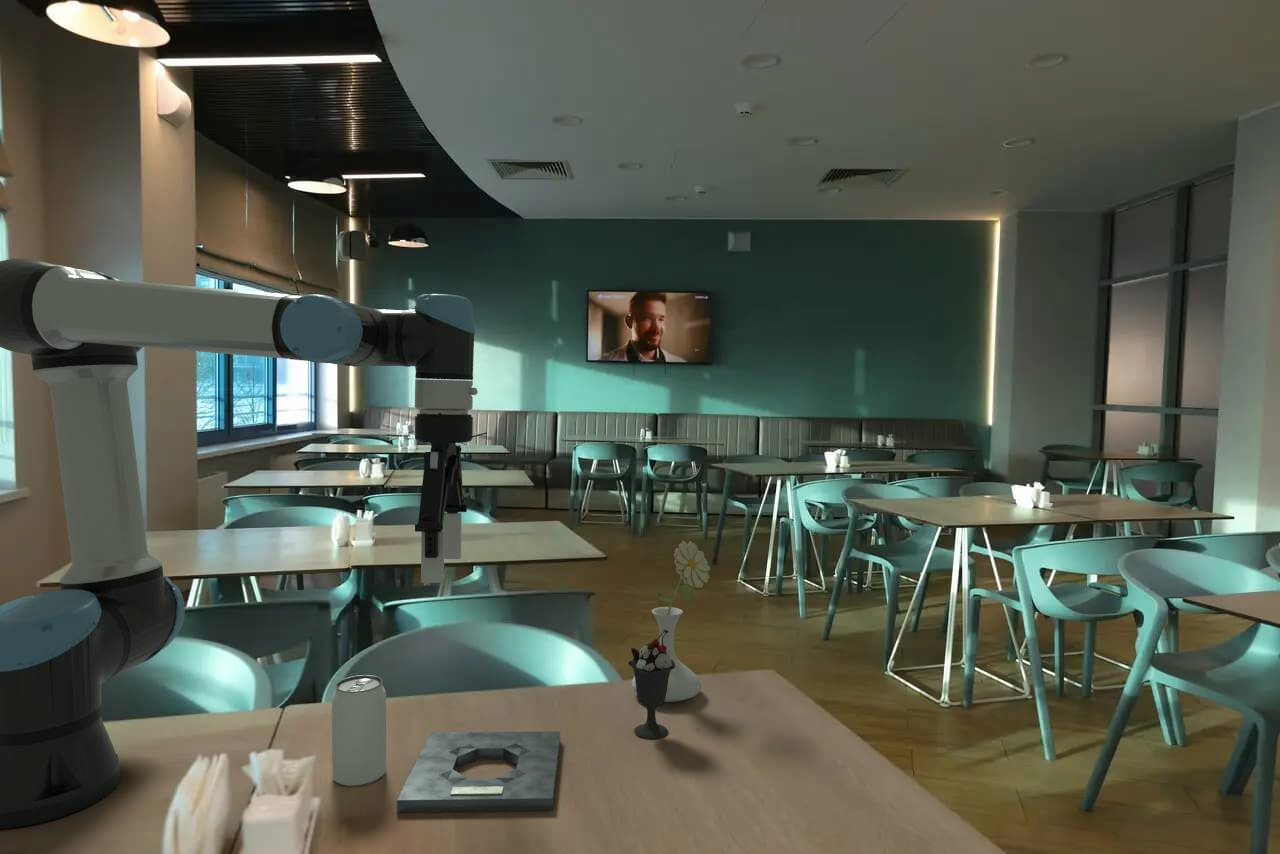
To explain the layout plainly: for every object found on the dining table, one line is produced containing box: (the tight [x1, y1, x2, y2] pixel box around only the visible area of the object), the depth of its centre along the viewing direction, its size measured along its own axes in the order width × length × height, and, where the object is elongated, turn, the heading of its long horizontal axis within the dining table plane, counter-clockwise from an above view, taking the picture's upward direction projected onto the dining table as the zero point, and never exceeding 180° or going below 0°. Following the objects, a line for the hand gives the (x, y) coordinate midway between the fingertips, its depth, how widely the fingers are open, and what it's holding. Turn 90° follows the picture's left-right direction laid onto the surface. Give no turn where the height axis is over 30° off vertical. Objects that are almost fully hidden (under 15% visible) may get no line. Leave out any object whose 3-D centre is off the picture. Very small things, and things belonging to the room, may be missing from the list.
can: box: [331, 674, 387, 788], centre depth 100 cm, size 6×6×12 cm
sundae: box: [627, 630, 675, 740], centre depth 114 cm, size 7×7×15 cm
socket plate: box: [396, 730, 561, 814], centre depth 101 cm, size 18×18×2 cm
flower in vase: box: [630, 540, 711, 703], centre depth 127 cm, size 13×11×25 cm
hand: (442, 569), depth 106 cm, fingers open, 13 cm apart
